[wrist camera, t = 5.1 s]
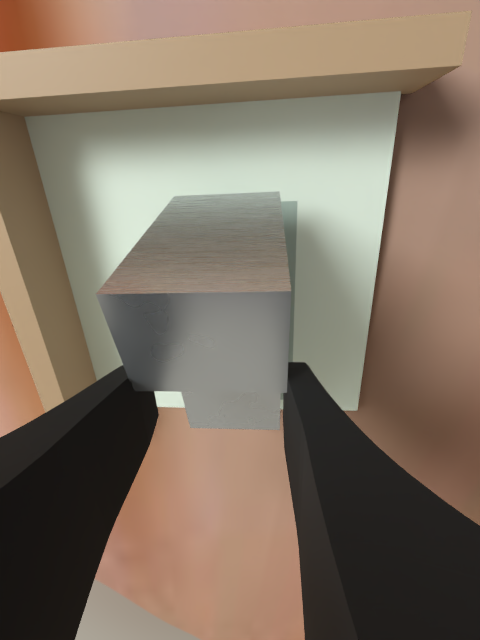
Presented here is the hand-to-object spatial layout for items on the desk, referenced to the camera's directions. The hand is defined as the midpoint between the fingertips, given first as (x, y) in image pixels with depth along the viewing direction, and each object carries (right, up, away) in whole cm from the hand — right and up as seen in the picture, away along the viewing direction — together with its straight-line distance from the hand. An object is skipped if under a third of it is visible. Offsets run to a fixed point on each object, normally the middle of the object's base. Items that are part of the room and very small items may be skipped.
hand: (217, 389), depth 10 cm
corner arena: (0, +4, +6) cm, 8 cm away
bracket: (0, +4, +5) cm, 6 cm away
